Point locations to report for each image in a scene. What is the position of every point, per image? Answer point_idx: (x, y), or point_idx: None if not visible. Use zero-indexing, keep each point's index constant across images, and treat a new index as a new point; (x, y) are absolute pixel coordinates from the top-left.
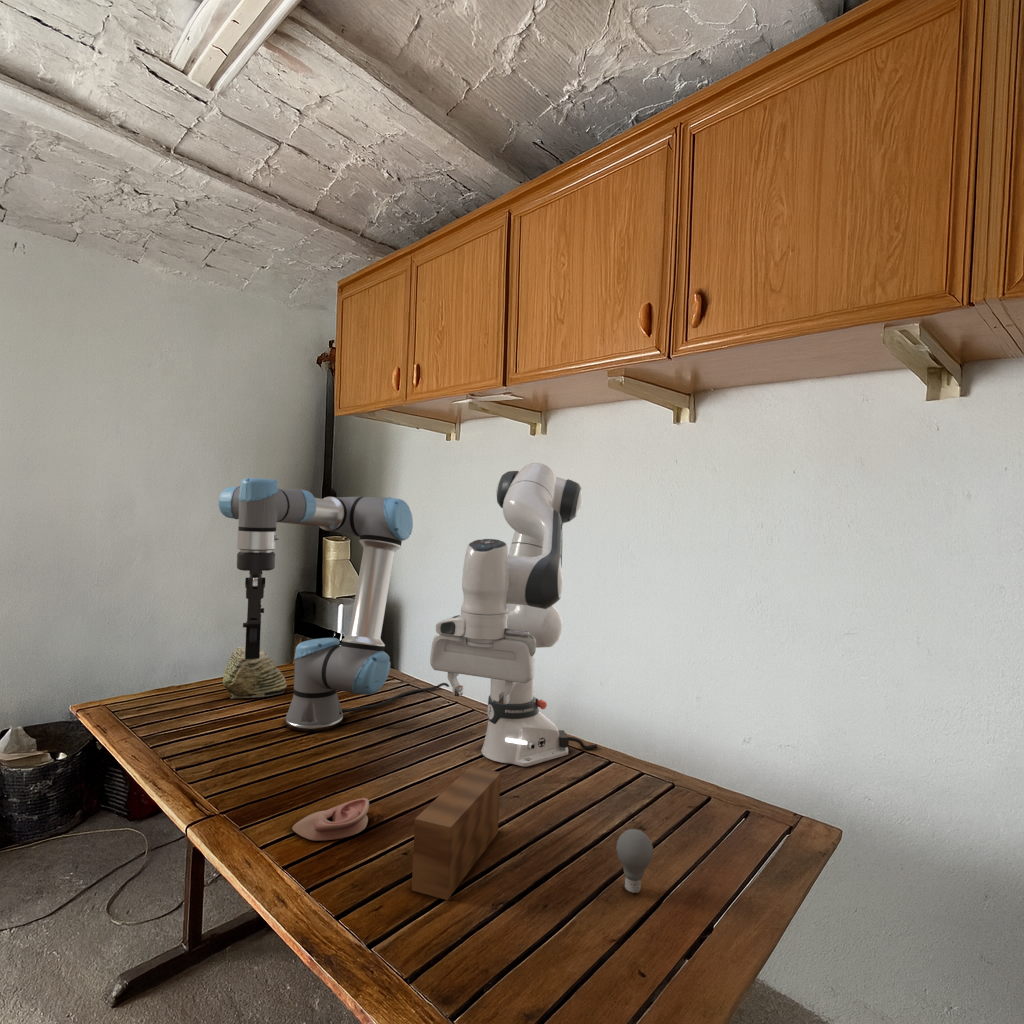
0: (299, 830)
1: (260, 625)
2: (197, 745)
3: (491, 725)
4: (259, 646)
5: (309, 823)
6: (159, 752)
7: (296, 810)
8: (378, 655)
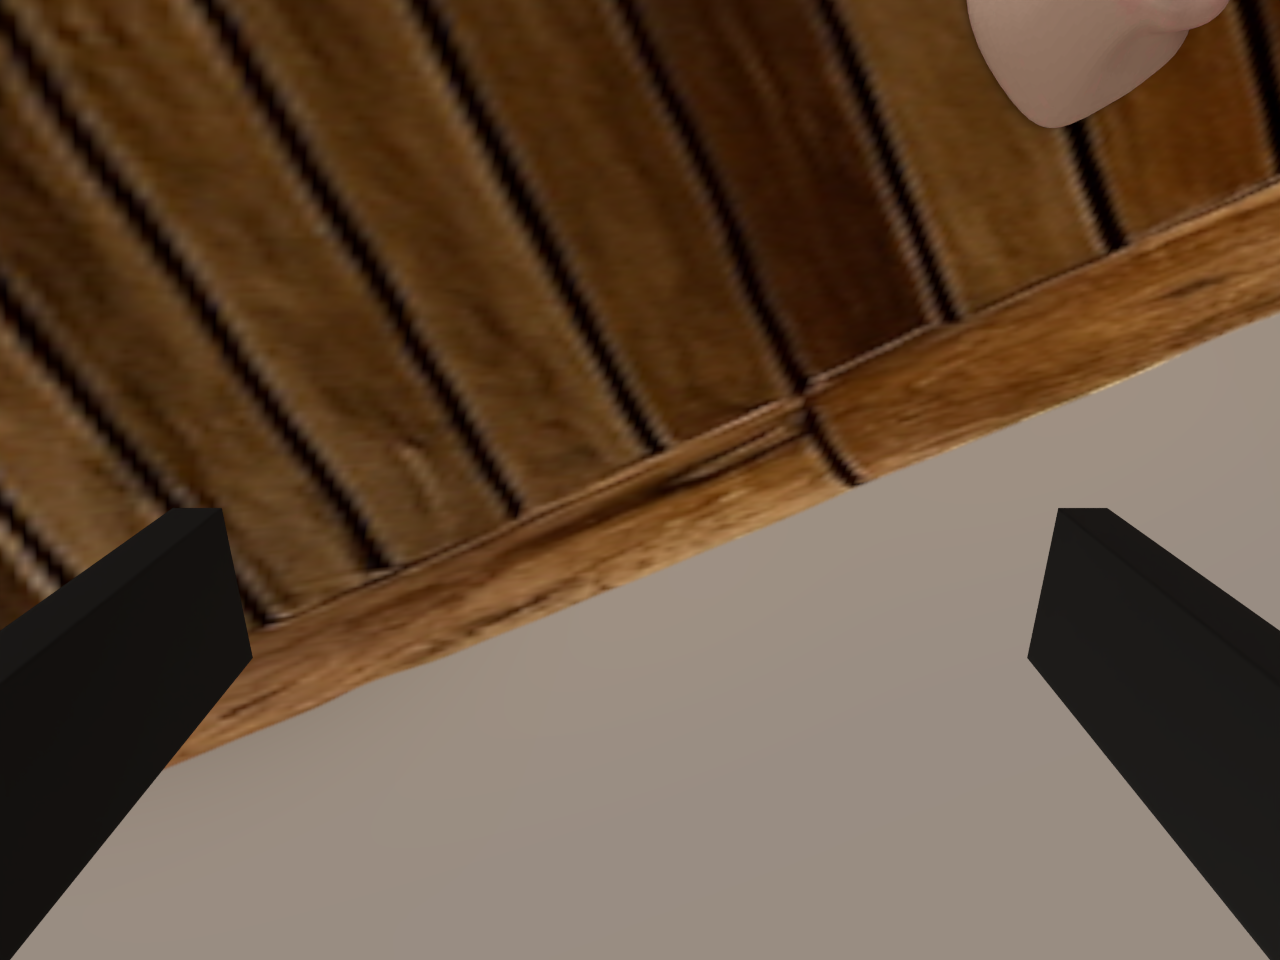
0: (1103, 99)
1: (35, 659)
2: (134, 520)
3: None
4: (1219, 592)
5: (1117, 53)
6: None
7: (886, 102)
8: None
